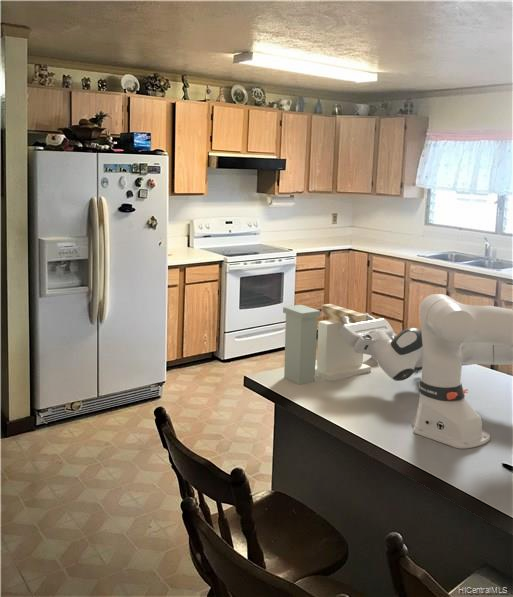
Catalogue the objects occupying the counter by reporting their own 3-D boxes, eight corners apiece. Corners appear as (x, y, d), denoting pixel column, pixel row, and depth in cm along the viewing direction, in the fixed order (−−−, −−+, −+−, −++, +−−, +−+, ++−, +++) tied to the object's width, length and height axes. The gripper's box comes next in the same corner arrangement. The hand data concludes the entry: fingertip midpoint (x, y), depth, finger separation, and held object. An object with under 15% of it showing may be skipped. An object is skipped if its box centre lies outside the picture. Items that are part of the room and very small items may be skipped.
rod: (365, 325, 227) (366, 314, 226) (357, 326, 225) (357, 315, 224) (329, 314, 244) (330, 303, 243) (321, 315, 241) (321, 304, 241)
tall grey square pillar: (317, 381, 228) (320, 310, 222) (299, 385, 223) (301, 313, 218) (299, 373, 237) (301, 304, 231) (281, 376, 232) (283, 307, 227)
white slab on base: (370, 371, 239) (373, 320, 235) (329, 381, 229) (331, 326, 224) (349, 363, 249) (351, 313, 245) (308, 371, 238) (310, 319, 234)
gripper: (402, 332, 224) (379, 306, 232) (358, 340, 213) (336, 312, 221) (395, 344, 228) (372, 318, 236) (351, 353, 217) (329, 326, 225)
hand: (354, 315), depth 229 cm, fingers open, 8 cm apart
